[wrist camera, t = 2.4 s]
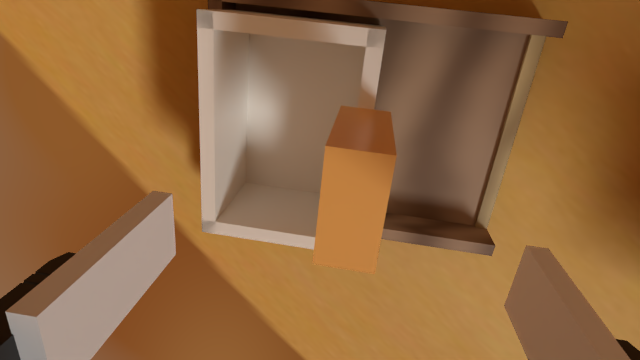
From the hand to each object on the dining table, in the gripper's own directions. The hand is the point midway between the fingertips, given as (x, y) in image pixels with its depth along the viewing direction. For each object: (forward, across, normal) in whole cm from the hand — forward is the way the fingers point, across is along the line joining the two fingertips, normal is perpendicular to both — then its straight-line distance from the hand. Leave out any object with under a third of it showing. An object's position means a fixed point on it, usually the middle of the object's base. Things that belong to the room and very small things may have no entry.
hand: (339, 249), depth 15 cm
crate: (+19, +4, 0) cm, 20 cm away
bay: (+20, 0, 0) cm, 21 cm away
